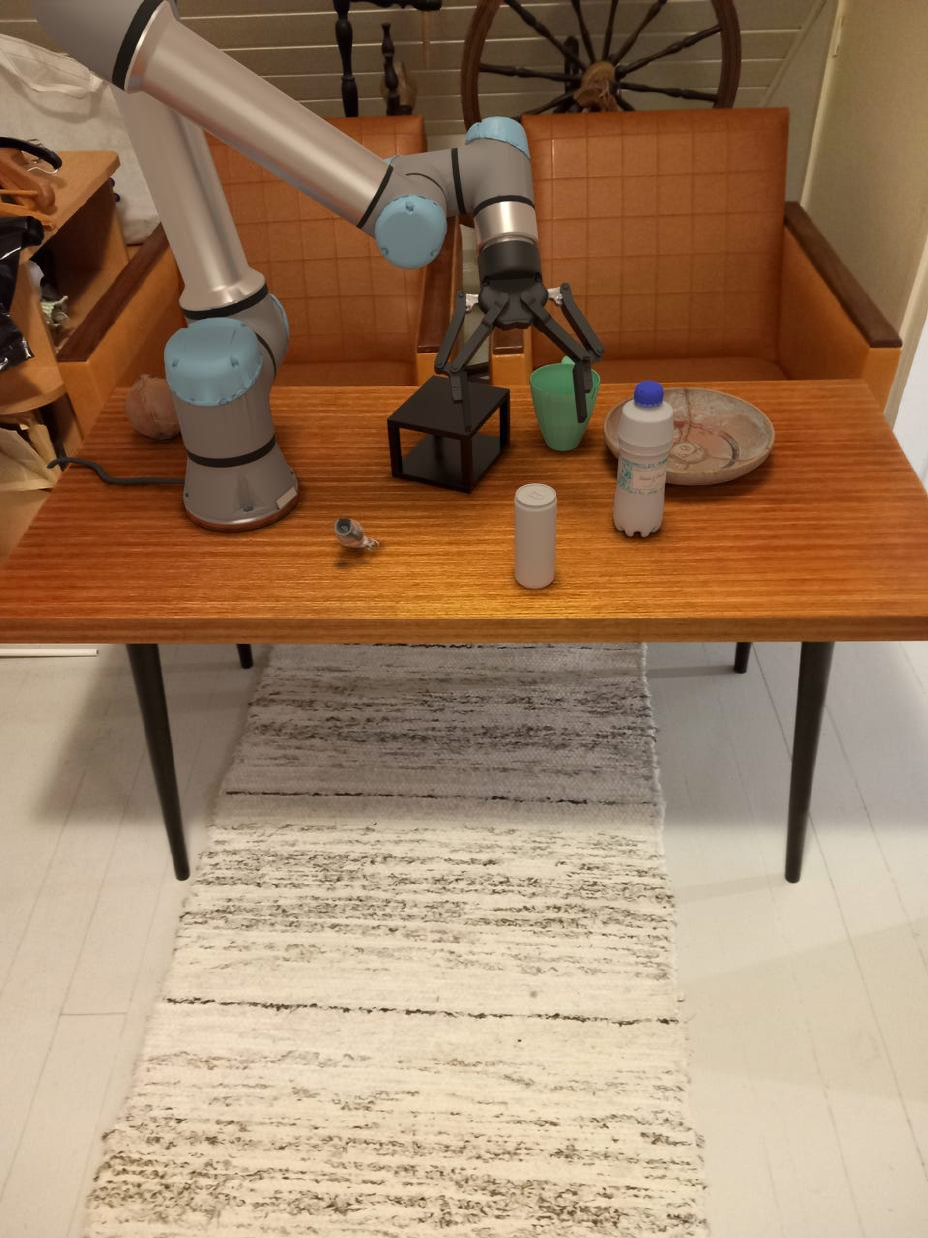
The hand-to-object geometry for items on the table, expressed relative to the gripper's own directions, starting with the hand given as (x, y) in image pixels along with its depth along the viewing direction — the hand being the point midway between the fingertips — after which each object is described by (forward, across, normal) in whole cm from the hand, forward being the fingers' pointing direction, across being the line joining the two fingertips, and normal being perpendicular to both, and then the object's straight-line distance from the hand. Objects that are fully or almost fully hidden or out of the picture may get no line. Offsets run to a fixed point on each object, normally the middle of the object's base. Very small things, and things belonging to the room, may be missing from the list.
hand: (525, 424), depth 116 cm
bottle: (+12, -14, -10) cm, 21 cm away
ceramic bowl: (0, -25, -22) cm, 33 cm away
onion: (-13, +50, -34) cm, 62 cm away
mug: (-6, -9, -28) cm, 30 cm away
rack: (-2, +8, -24) cm, 25 cm away
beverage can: (+18, 0, -4) cm, 18 cm away
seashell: (+12, +22, -10) cm, 27 cm away
